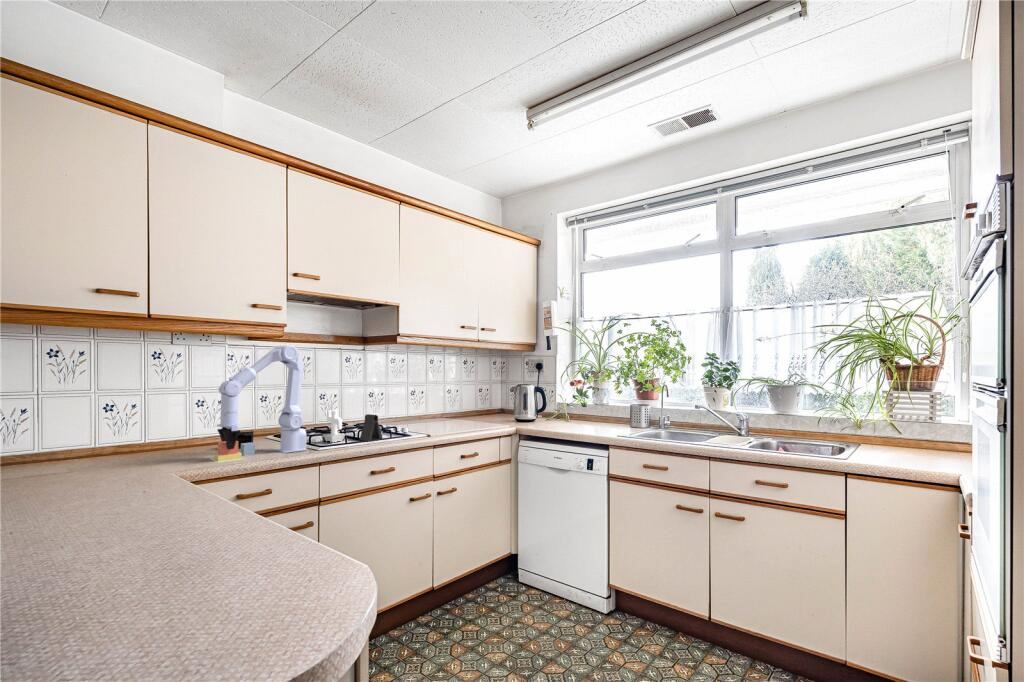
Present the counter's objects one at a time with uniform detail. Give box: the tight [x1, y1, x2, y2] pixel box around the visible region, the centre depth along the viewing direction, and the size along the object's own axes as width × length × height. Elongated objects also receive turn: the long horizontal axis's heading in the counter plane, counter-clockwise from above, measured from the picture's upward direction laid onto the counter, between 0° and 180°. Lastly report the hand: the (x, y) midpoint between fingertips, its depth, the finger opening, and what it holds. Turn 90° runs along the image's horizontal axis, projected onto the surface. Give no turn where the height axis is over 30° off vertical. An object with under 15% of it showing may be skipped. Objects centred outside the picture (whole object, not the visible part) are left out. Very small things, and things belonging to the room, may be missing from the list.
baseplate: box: [210, 457, 246, 464], centre depth 193 cm, size 10×10×1 cm
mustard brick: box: [213, 451, 243, 461], centre depth 193 cm, size 8×5×2 cm, turn 135°
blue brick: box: [240, 442, 256, 457], centre depth 202 cm, size 4×4×4 cm
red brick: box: [217, 441, 239, 455], centre depth 193 cm, size 6×4×4 cm, turn 135°
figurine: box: [322, 409, 346, 442], centre depth 233 cm, size 7×9×15 cm
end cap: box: [236, 430, 254, 450], centre depth 217 cm, size 10×7×7 cm
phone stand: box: [359, 413, 383, 442], centre depth 241 cm, size 9×6×12 cm, turn 148°
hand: (228, 448), depth 193 cm, fingers open, 5 cm apart
